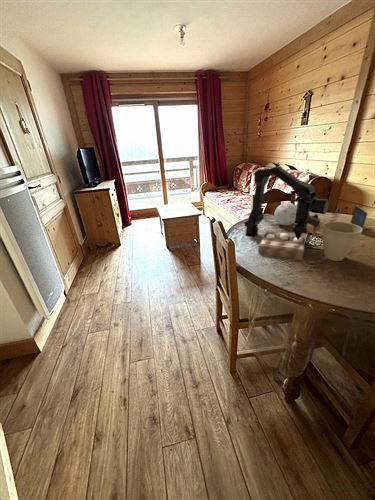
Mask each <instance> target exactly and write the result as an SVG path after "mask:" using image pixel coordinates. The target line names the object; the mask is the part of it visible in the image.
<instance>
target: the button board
mask: <svg viewBox="0 0 375 500" xmlns="http://www.w3.org/2000/svg"><path fill="white" fill-rule="evenodd" d="M281 233H285V232H282V231H275V230H273V231H272V230H266V231H265V233H264V235H263V237H262V238H261V241H260V243H259V244H258V252H257V253H258V254H262V255H269V256H274V257H275V256H276V257H281V258H286V259H287V258H288V259H293V260H300V261H303V256H304V252H305V246H306V245H305V244H306V239H307V235H306V234H303V233H302V234H301V236H300V238H302V239H303V241H302V242H297V241H293V239H294V238H295V237H296V235H295V233H294V232H292V233H291V232H286V233H287V234H289V237H288V240H281V239H280V234H281ZM268 234H272V235H275V239H273V238H266V236H267V235H268Z"/></svg>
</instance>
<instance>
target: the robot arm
mask: <svg viewBox="0 0 375 500" xmlns="http://www.w3.org/2000/svg"><path fill="white" fill-rule="evenodd" d="M253 175H254V179H253V180H254V184H255V192H254V197H253V206H252V209H251V212H250V214H249V215H248V219H247V220H246V221H245V222H244V226H245V227H246V228H245V229H246V230H245V236H248V237H257V235H258V234H259V226H258V225H260V223H261V222H262V221H263V220H264V215H265V212H262V211H263V210H262V205H263V200H264V196H265V195H264V194H265V193H264V192H265V188H266V185H267V184H268V181H269V179H270V177H271V176H275V177H277V179H279V180H281V181H282V182H284V183H285V184H286V185H288V186H289V187H290V188H291V189H292V190H293V191H294V193H295V194H296V195H297V197H296V198H294V199H293V202H296V203H297V205H296V207H297V211H296V217H295V222H294V223H293V224H294V225H292V230H291V232H292V233H294V234H295V235H296V238H297V239H299V238H300V236H301V234H302V235H303V234H306V233H307V229H308V227H307V224H310V225H313V226H314V227H317V226H318V225H319V223H320V222H321V221H322V220H321V218H320V217H319V215H326V214H327V212H328V210H329V207H330V206H329V199H328V198H327V199H326V198H323V199H322V198H319V196H318V194H317V192H316V190H315V186H314V185H313V184H312V183H309V182H307V181H302V180H301V179H298V178H297V177H296V176H294V175H292V174H291V173H290V172H288V171H287V170H285V169H284V168H283V167H282V166H281V165H277V166H274V167H271V168H261V169H258V170H256V171H255V172H254V174H253ZM310 212H311V214H312V213H313V215H310ZM318 214H319V215H318ZM304 224H305V225H304Z"/></svg>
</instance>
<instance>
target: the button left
mask: <svg viewBox="0 0 375 500" xmlns="http://www.w3.org/2000/svg"><path fill="white" fill-rule="evenodd" d="M266 238H273V239H275V235H272V234H268V235H267V236H266Z"/></svg>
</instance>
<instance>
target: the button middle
mask: <svg viewBox="0 0 375 500" xmlns="http://www.w3.org/2000/svg"><path fill="white" fill-rule="evenodd" d="M287 233H288V232H284V233H281V234H280V239H281V240H288V237H289V234H287Z"/></svg>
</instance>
